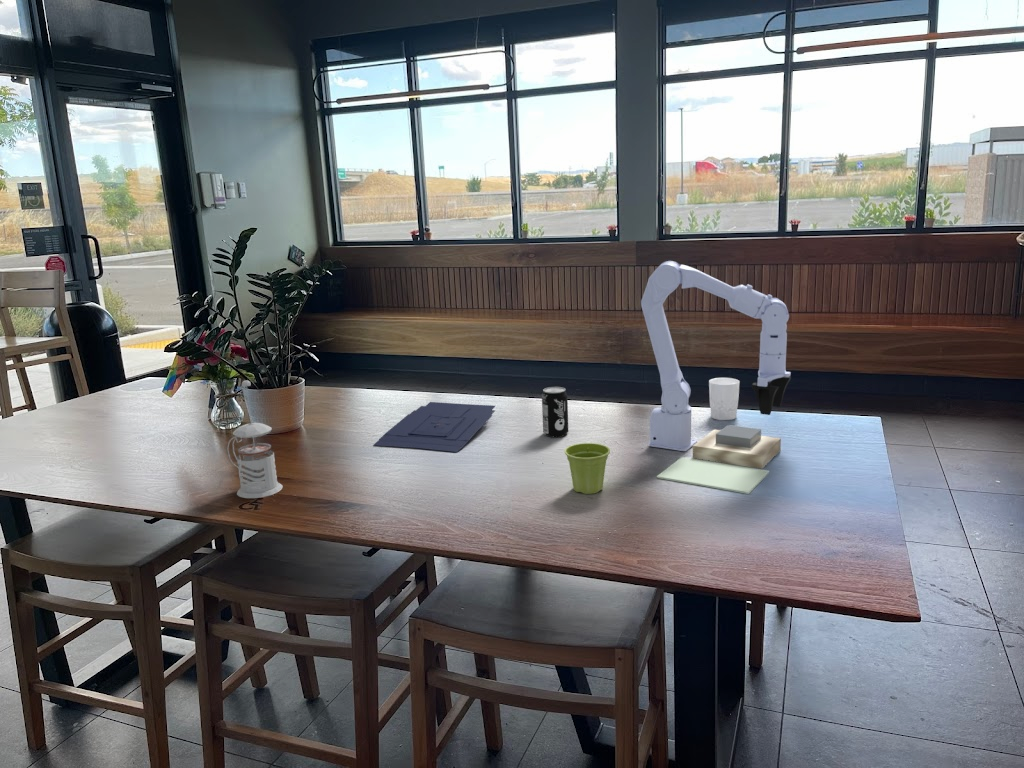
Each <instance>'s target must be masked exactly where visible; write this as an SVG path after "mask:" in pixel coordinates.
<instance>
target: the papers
mask: <svg viewBox="0 0 1024 768" xmlns="http://www.w3.org/2000/svg"><path fill="white" fill-rule="evenodd" d="M495 407H496V405H489V404H488V405H487V404H471V403H469V404H467V403H455V402H454V403H453V402H439V401H438V402H436V401H430V402H428V403H427V404H426V405H421V406H419V407H418V408H416V409H415V410H413V411H411V412H410V413H408V414H407V415H406V416H404V418H402V419H401V420H400V421H399V422H397V423H396V424H395V425H394V426H392V427H391V428H390V429H388V431H386V432H385V433H384V434H383V435H382V436H380V438H379V439H378V440H377V441H376V442H375V443H374V444H373V446H380V447H381V446H382V447H383V446H384V447H397V448H398V447H400V448H415V449H424V450H434V451H443V452H452V453H458V452H459V451H460V450H461V449H462V448H463V447H465V446H466V444H468V442H469V441H470V440H471V438H472V437H474V435H476V433H477V432H478V431H479V430H480V429H481V428H482V427H483V426H484V425H485V424H486V422H488V421H489V420H490V419H491V418H492V416H493V414H494V413H495V411H496V410H493V409H495Z"/></svg>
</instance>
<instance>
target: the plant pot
mask: <svg viewBox="0 0 1024 768" xmlns="http://www.w3.org/2000/svg"><path fill="white" fill-rule="evenodd" d="M610 452H611V448H610V447H609V446H607V445H604V444H600V443H595V442H583V443H576V444H572V445H569V446H567V447H566V448H565V449H564V454H565V455H566V457H567V460H568V464H569V470H570V475H571V481H572V488H573V491H575V492H576V493H582V494H585V495H590V494H592V495H593V494H598V493H599V492H600V491H602V490H603V488H604V487H603V486H604V481H605V471H606V464H607V460H608V457H609V454H611V453H610Z"/></svg>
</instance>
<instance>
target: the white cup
mask: <svg viewBox="0 0 1024 768" xmlns="http://www.w3.org/2000/svg"><path fill="white" fill-rule="evenodd" d="M740 382H741V381H740V380H738V379H736V378H732V377H715V378H711V379H709V380H708V387H709V390H708V393H709V408H710V417H711V419H713V420H718V421H732V420H735V419H737V417H738V416H737V415H738V406H739V398H740V397H739V394H740Z"/></svg>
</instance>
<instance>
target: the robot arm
mask: <svg viewBox="0 0 1024 768" xmlns="http://www.w3.org/2000/svg"><path fill="white" fill-rule="evenodd" d="M679 285H681V289H689V288H690V289H691V288H697V289H700V290H702V291H704V292H708V293H710V294H712V295H714V296H716V297H719V298H722V299H725V300H726V301H727V302H728V306H729V308H731V309H732V310H734V311H737V312H740V313H741V314H744V315H745V316H748V317H751V318H753V319H759V320H761V331H760V335H759V336H760V338H759V339H760V341H759V342H760V343H759V344H760V345H759V362H758V363H759V365H758V367H759V368H758V371H757V375H758V377H757V382H753V383H752V384H751V389H752V390H753V392H754V394H755V397H756V399H757V403H758V409H759V413H760V415H766V416H770V415H771V414H772V410H773V407H776V408H777V407H778V408H780V407H781V405H782V403H783V399H784V396H785V392H786V389H787V387H788V384H789V382H790V381H791V379H792V377H791V373H792V372H791V371H787V370H786V368H787V366H786V363H787V342H788V339H787V338H788V333H787V328H788V326H787V323H788V321H789V318H790V314H789V310H788V308H787V305H786V303H785V302H783V301H782V300H780V298H777V297H773V295H772V294H767V295H766V294H765V293H762V292H759V290H758V291H757V290H755V289H753V285H751V284H749V283H748V284H746V285H744V284H738V285H736V286H732V285H729V284H728V283H726V282H724V281H721V280H719V279H717V278H716V277H713V276H711V275H710V274H707V273H705V272H704V271H703V272H702V271H701V270H698V269H697V268H694V267H692V266H689V265H685V264H680V263H678V262H677V261H673V260H668V261H667V260H666V261H663V262H662V263H661V264H660V265H658V267H657V268H656V269H655V270H654V271H653V272H652V273H651V275H650V276H649V277H648V279H647V284H646V286H645V288H644V289H645V290H644V291H643V295H642V298H641V300H640V306H641V309H642V313H643V317H644V321H645V324H646V327H647V331H648V335H649V339H650V342H651V346H652V350H653V354H654V357H655V361H656V364H657V369H658V373H659V376H660V377H659V378H660V386H661V391H662V393H661V398H660V403H661V407H655V408H653V410H652V411H651V413H650V418H649V443H648V446H649V447H654V448H659V449H665V450H666V449H667V450H673V451H678V452H679V451H680V452H686V451H688V450H689V449H691V448H693V445H694V444H696V443H697V442H698V440H697V439H692V407H691V406H690V405H689V398H690V397H691V391H692V390H691V389H692V388H691V387H690V384H689V383H688V382H687V381H686V380H685V378H684V376H683V372H682V371H681V368H680V365H679V361H678V359H677V354H676V350H675V346H674V342H673V340H672V335H671V332H670V327H669V324H668V321H667V316H666V314H665V309H664V306H663V304H664V303H665V301H666V299H667V298H668V296H669V295H670V294H672V293H673V292H674V291H675V290H676V289H678V287H679Z"/></svg>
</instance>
